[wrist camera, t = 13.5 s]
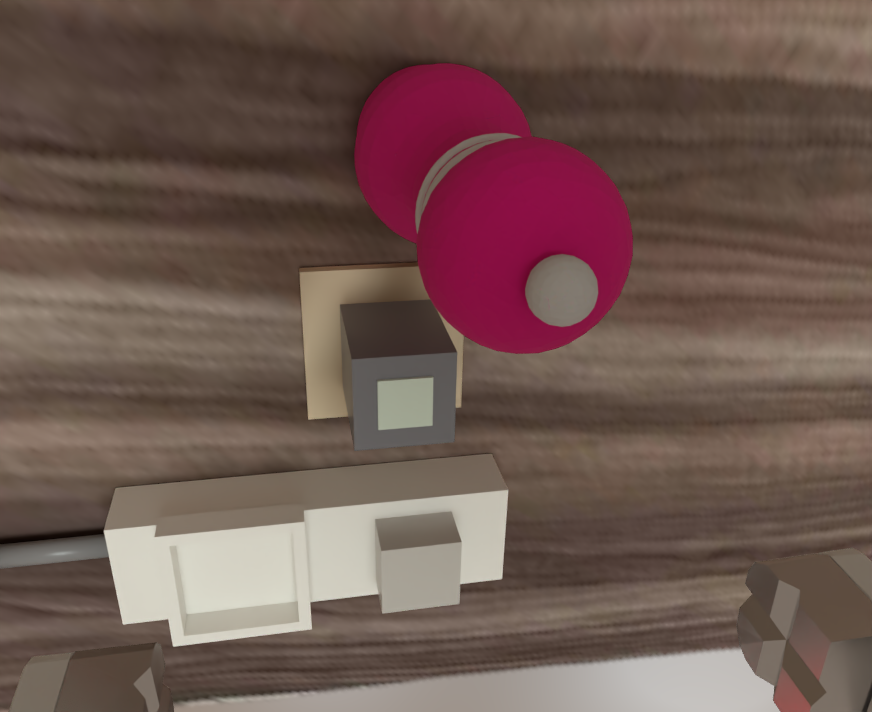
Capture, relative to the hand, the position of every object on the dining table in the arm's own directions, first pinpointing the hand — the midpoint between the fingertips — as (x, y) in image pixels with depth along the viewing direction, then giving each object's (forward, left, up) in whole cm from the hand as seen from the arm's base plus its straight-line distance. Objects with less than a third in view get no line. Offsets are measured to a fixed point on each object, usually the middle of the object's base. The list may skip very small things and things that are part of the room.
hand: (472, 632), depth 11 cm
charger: (-2, +9, -28) cm, 30 cm away
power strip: (+5, +20, -29) cm, 35 cm away
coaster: (-2, +9, -29) cm, 30 cm away
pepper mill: (-4, -1, -29) cm, 29 cm away
